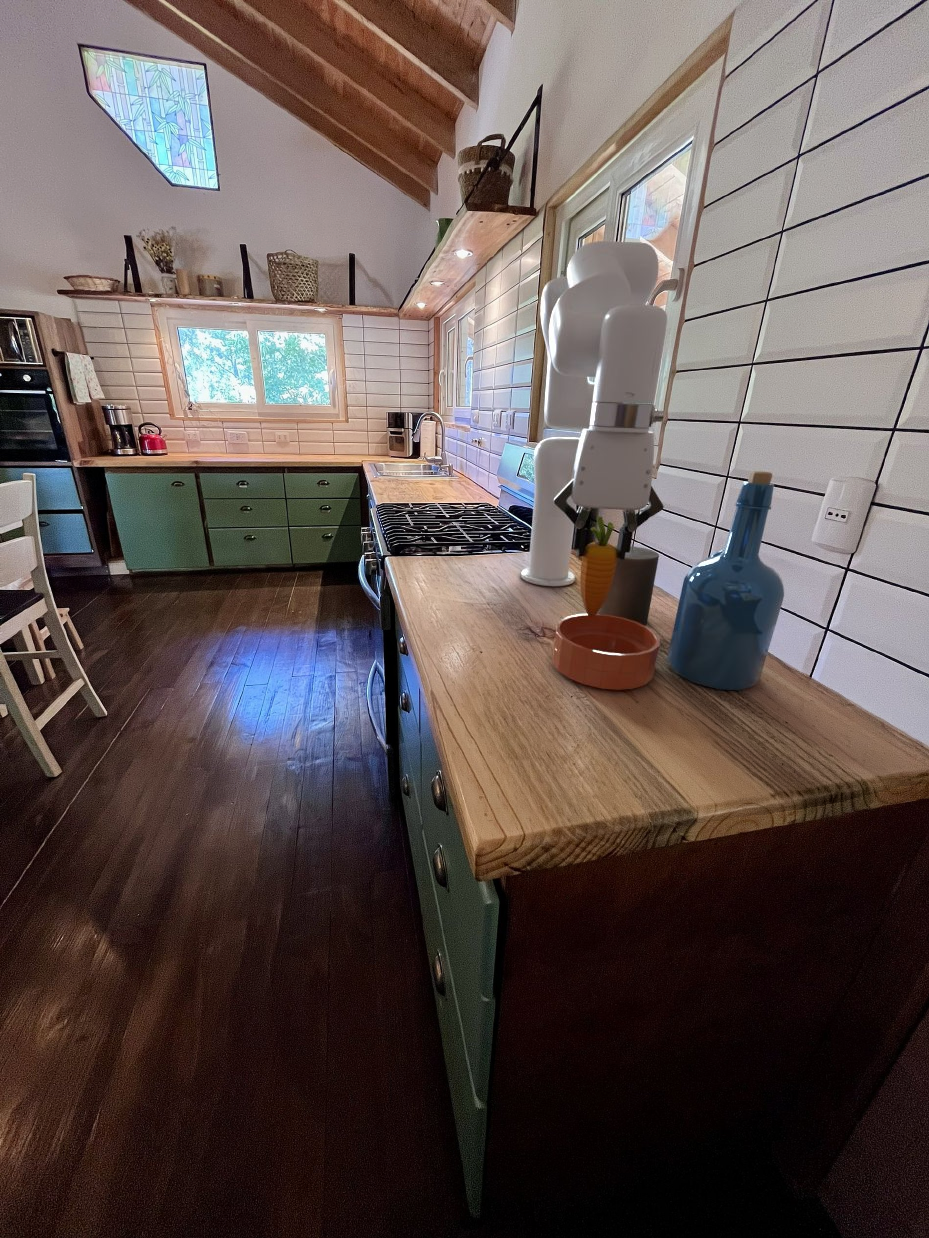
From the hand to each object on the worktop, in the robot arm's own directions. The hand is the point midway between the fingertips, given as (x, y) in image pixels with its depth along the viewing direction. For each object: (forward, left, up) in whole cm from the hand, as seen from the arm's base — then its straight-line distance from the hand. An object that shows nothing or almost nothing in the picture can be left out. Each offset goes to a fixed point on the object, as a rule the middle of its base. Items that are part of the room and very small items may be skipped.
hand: (600, 554), depth 71 cm
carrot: (0, 0, -10) cm, 10 cm away
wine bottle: (-2, +20, -18) cm, 27 cm away
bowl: (0, +3, -18) cm, 18 cm away
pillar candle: (-20, +9, -18) cm, 28 cm away
